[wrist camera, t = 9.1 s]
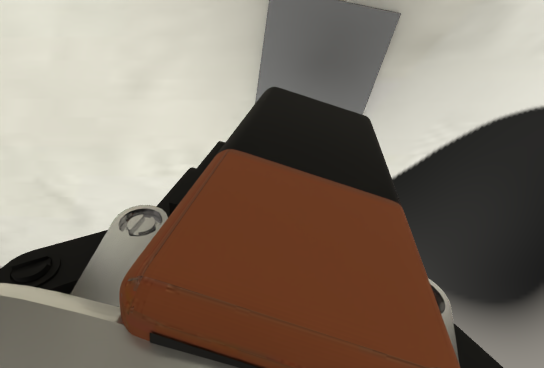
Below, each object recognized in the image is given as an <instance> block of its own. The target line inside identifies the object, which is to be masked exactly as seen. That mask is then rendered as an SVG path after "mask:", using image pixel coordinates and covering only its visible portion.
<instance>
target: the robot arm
mask: <svg viewBox="0 0 544 368" xmlns="http://www.w3.org/2000/svg"><path fill="white" fill-rule="evenodd" d="M224 144H225V142H221V141H219V142H218V143H217V144H216V146H215V147H214V148H213V149H212V150H211V152H210V153H209V154H208V155H207V157H206V158H205V159H204V160H203V161H202V163H201V164H200V165H199V166H198V168H197V169H196V168H190V169H189V170H188V171H187V172H186V173H185V174H184V175H183V176H182V178H181V179H180V180H179V181H178V182H177V183H176V184H175V186H174V187H173V188H172V189H171V190H170V191H169V193H168V194H167V195H166V196H165V197H164V198H163V200H162V201H161V202H160V203H159V204H158V205H157V206H151V205H139V206H134V207H131V208H129V209H126V210H124V211H123V212H121V213H120V214H118V216H117V217H116V218H115V219H114V221H113V222H112V224H111V226H110V227H109V229H108V230H106V231H102V232H99V233H95V234H91V235H88V236H84V237H80V238H77V239H73V240H69V241H66V242H62V243H59V244H55V245H51V246H48V247H44V248H40V249H37V250H33V251H30V252H27V253H25V254H22V255H20V256H18V257H16V258H15V259H13V260H11V261H10V262H9V263H7V264H6V265H5V266H4V267H2V268H0V368H238V367H235V366H231V365H228V364H224V363H220V362H217V361H213V360H210V359H206V358H203V357H199V356H196V355H192V354H189V353H185V352H182V351H178V350H174V349H171V348H167V347H164V346H160V345H157V344H153V343H150V341H147V340H144V339H141V338H139V337H136V336H134V335H132V334H131V333H130V332H128V330H127V329H126V327H125V326H124V324H123V322H122V318H121V312H120V302H119V292H120V286H121V283H122V281H123V279H124V277H125V275H126V274H127V272H128V271H129V269H130V268H131V266H132V265H133V264H134V262H135V261H136V260H137V258H138V257H139V256H140V254H141V253H142V252H143V250H144V249H145V248H146V246H147V245H148V244H149V243H150V241H151V240H152V239H153V237H154V236H155V235H156V233H157V232H158V231H159V229H160V228H161V227H162V225H163V224H164V223H165V222H166V220H167V219H168V218H169V216H170V215H171V214H172V212H173V211H174V210H175V208H176V207H177V206H178V204H179V203H180V202H181V201H182V199H183V198H184V197H185V195H186V194H187V193H188V191H189V190H190V189H191V187H192V186H193V185H194V183H195V182H196V181H197V180H198V178H199V177H200V176H201V174H202V173H203V172H204V170H205V169H206V168H207V166H208V165H209V164H210V162H211V161H212V160H213V159H214V157H215V156H216V155H217V153H218V152H219V151H220V149H221V148H222V147H223V145H224ZM428 280H429V283H430V285H431V288H432V291H433V293H434V296H435V299H436V302H437V304H438V307H439V310H440V313H441V315H442V318H443V321H444V324H445V326H446V329H447V332H448V335H449V337H450V340H451V343H452V346H453V348H454V351H455V354H456V357H457V360H458V362H459V365H460V368H503V367H502V366H501V365H500V364H499V363H498V362H496V361H495V360H494V359H493V358H492V357H491V356H489V354H487V353H486V352H485V351H484V350H483V349H482V348H481V347H480V346H479V345H478V344H476V343H475V342H474V341H473V340H472V339H471V338H469V337H468V336H467V335H466V334H465V333H464V332H463V331H462V330H461V329H460V328H459V327H457V326H456V325H455V324H454V323H453V316H452V309H451V305H450V302H449V300H448V298H447V296H446V295H445V293H444V292H443V291H442V290H441V289H440V288H439V287H438V286H437V285H436V284H435V283H434V282H432V281H431V280H430V279H428Z"/></svg>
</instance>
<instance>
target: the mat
mask: <svg viewBox="0 0 544 368" xmlns="http://www.w3.org/2000/svg"><path fill="white" fill-rule="evenodd" d="M400 15H401V13H396V12H392V11H387V10H382V9H377V8H372V7H368V6H363V5H358V4H353V3H349V2H344V1H339V0H269V6H268V13H267V21H266V28H265V35H264V43H263V50H262V57H261V65H260V72H259V79H258V87H257V94H256V102H257V101H258V99H259V98H260V97H261V96H262V94H263V93H264V92H265V91H266V90H267V89H269V88H271V87H279V88H282V89H285V90H288V91H291V92H294V93H297V94H300V95H304V96H307V97H310V98H313V99H316V100H319V101H322V102H325V103H328V104H331V105H334V106H337V107H340V108H343V109H346V110H349V111H353V112H356V113H359V114H363V111H364V109H365V106H366V103H367V101H368V98H369V96H370V93H371V90H372V88H373V85H374V83H375V80H376V77H377V75H378V72H379V70H380V67H381V64H382V62H383V59H384V57H385V54H386V51H387V49H388V46H389V44H390V41H391V38H392V36H393V33H394V30H395V28H396V25H397V23H398V20H399V17H400ZM256 102H255V103H256Z"/></svg>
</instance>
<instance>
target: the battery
mask: <svg viewBox="0 0 544 368" xmlns="http://www.w3.org/2000/svg"><path fill="white" fill-rule="evenodd" d="M119 302H120V312H121V318H122V322H123V324H124V326H125V327H126V329H127V330H128V332H130V333H131V334H132V335H134V336H136V337H139V338H141V339H144V340H147V341H150V343H153V344H157V345H160V346H164V347H167V348H171V349H174V350H178V351H182V352H185V353H189V354H192V355H196V356H199V357H203V358H206V359H210V360H213V361H217V362H220V363H224V364H228V365H231V366H235V367H238V368H460V365H459V362H458V360H457V357H456V354H455V351H454V348H453V346H452V343H451V340H450V337H449V335H448V332H447V329H446V326H445V324H444V321H443V318H442V315H441V313H440V310H439V307H438V304H437V302H436V299H435V296H434V293H433V291H432V288H431V285H430V283H429V280H428V277H427V274H426V272H425V269H424V266H423V263H422V261H421V258H420V255H419V253H418V250H417V247H416V244H415V241H414V239H413V236H412V233H411V231H410V228H409V225H408V222H407V219H406V217H405V214H404V211H403V209H402V206H401V203H400V200H399V198H398V195H397V192H396V189H395V187H394V184H393V181H392V178H391V176H390V173H389V170H388V167H387V165H386V162H385V159H384V156H383V154H382V151H381V148H380V145H379V143H378V140H377V137H376V134H375V132H374V129H373V126H372V124H371V121H370V119H369V118H368V117H367V116H364V115H362V114H359V113H356V112H353V111H349V110H346V109H343V108H340V107H337V106H334V105H331V104H328V103H325V102H322V101H319V100H316V99H313V98H310V97H307V96H304V95H300V94H297V93H294V92H291V91H288V90H285V89H282V88H279V87H271V88H269V89H267V90H266V91H265V92H264V93H263V94H262V96H261V97H260V98H259V99H258V101H257V102H256V103H255V105H254V106H253V107H252V109H251V110H250V111H249V113H248V114H247V115H246V117H245V118H244V119H243V120H242V122H241V123H240V124H239V126H238V127H237V128H236V130H235V131H234V132H233V134H232V135H231V136H230V138H229V139H228V140H227V141H226V143H225V144H224V145H223V147H222V148H221V149H220V151H219V152H218V153H217V155H216V156H215V157H214V159H213V160H212V161H211V162H210V164H209V165H208V166H207V168H206V169H205V170H204V172H203V173H202V174H201V176H200V177H199V178H198V180H197V181H196V182H195V183H194V185H193V186H192V187H191V189H190V190H189V191H188V193H187V194H186V195H185V197H184V198H183V199H182V201H181V202H180V203H179V204H178V206H177V207H176V208H175V210H174V211H173V212H172V214H171V215H170V216H169V218H168V219H167V220H166V222H165V223H164V224H163V225H162V227H161V228H160V229H159V231H158V232H157V233H156V235H155V236H154V237H153V239H152V240H151V241H150V243H149V244H148V245H147V246H146V248H145V249H144V250H143V252H142V253H141V254H140V256H139V257H138V258H137V260H136V261H135V262H134V264H133V265H132V266H131V268H130V269H129V271H128V272H127V274H126V275H125V277H124V279H123V281H122V283H121V286H120V292H119Z"/></svg>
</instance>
